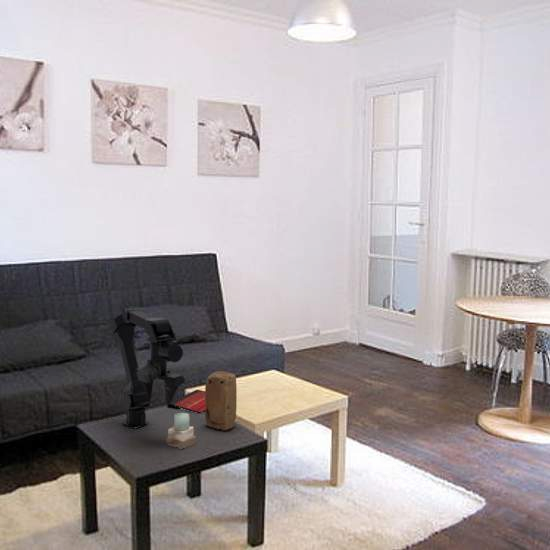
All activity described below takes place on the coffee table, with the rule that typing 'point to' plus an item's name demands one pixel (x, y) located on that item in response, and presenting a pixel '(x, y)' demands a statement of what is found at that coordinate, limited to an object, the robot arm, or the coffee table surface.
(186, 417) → the pale green cube
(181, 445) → the tower base
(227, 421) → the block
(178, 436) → the tower top
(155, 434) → the coffee table surface
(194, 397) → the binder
